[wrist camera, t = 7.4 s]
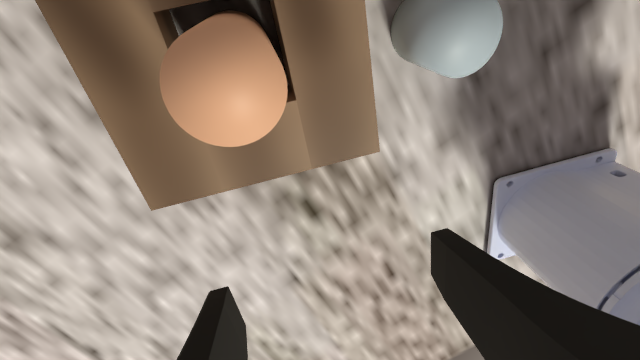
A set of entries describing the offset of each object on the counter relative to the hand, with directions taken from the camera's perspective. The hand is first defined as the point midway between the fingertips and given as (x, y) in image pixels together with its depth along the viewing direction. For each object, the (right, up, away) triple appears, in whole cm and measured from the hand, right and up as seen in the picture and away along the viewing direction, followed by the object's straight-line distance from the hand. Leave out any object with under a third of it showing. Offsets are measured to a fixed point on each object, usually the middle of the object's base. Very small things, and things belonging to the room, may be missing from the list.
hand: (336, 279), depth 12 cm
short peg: (+5, +12, +6) cm, 14 cm away
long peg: (-5, +10, +5) cm, 12 cm away
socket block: (-5, +10, +5) cm, 12 cm away
